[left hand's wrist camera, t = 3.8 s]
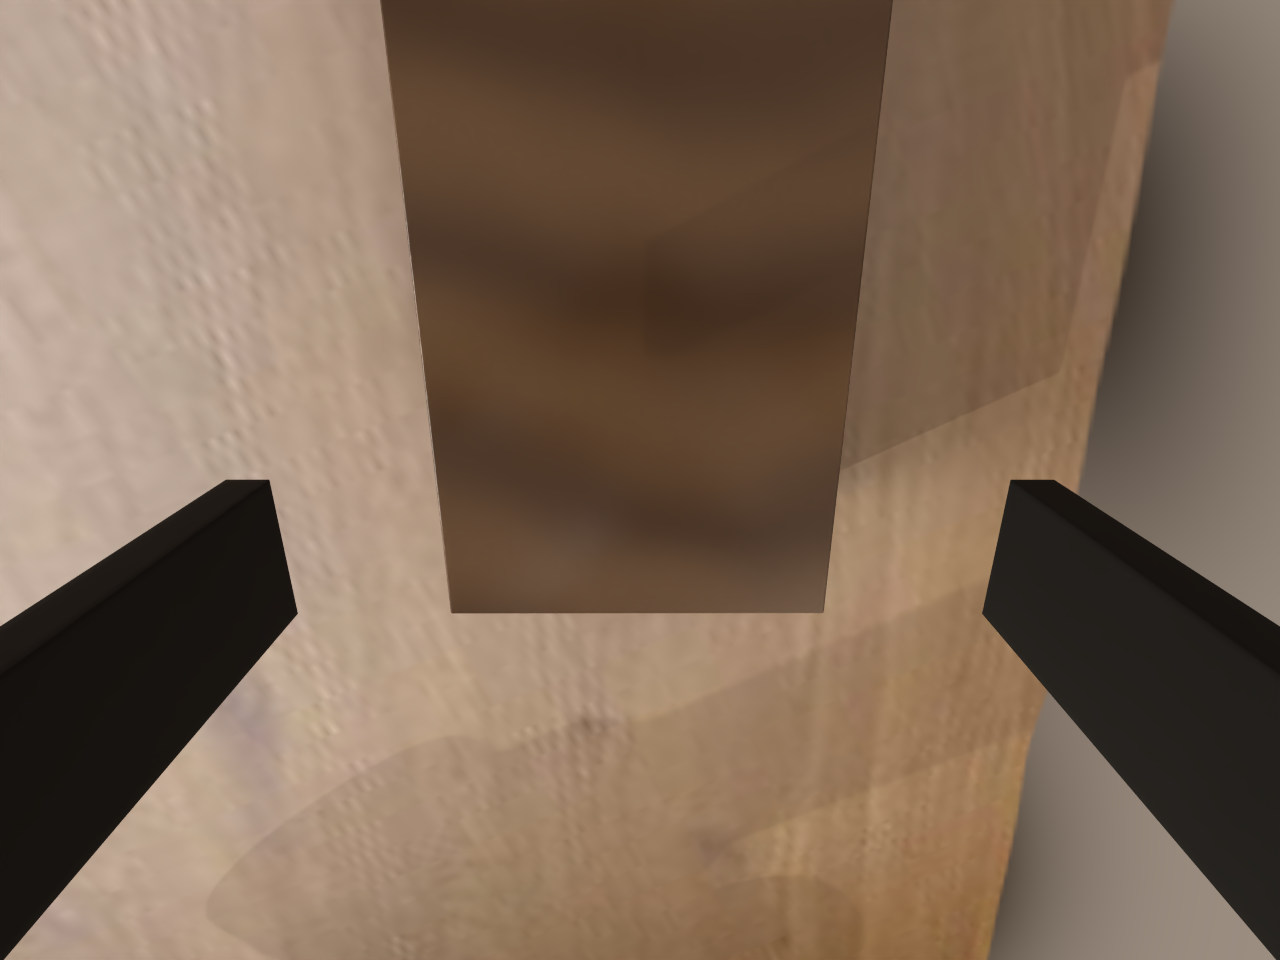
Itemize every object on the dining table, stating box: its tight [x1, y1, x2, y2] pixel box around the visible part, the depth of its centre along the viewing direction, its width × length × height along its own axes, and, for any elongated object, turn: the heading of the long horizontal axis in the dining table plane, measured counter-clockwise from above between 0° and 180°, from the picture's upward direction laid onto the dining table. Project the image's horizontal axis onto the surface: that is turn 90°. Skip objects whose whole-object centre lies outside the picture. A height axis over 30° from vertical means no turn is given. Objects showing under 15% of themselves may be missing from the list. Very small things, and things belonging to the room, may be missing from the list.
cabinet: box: [380, 0, 893, 613], centre depth 20 cm, size 19×11×8 cm, turn 0°
